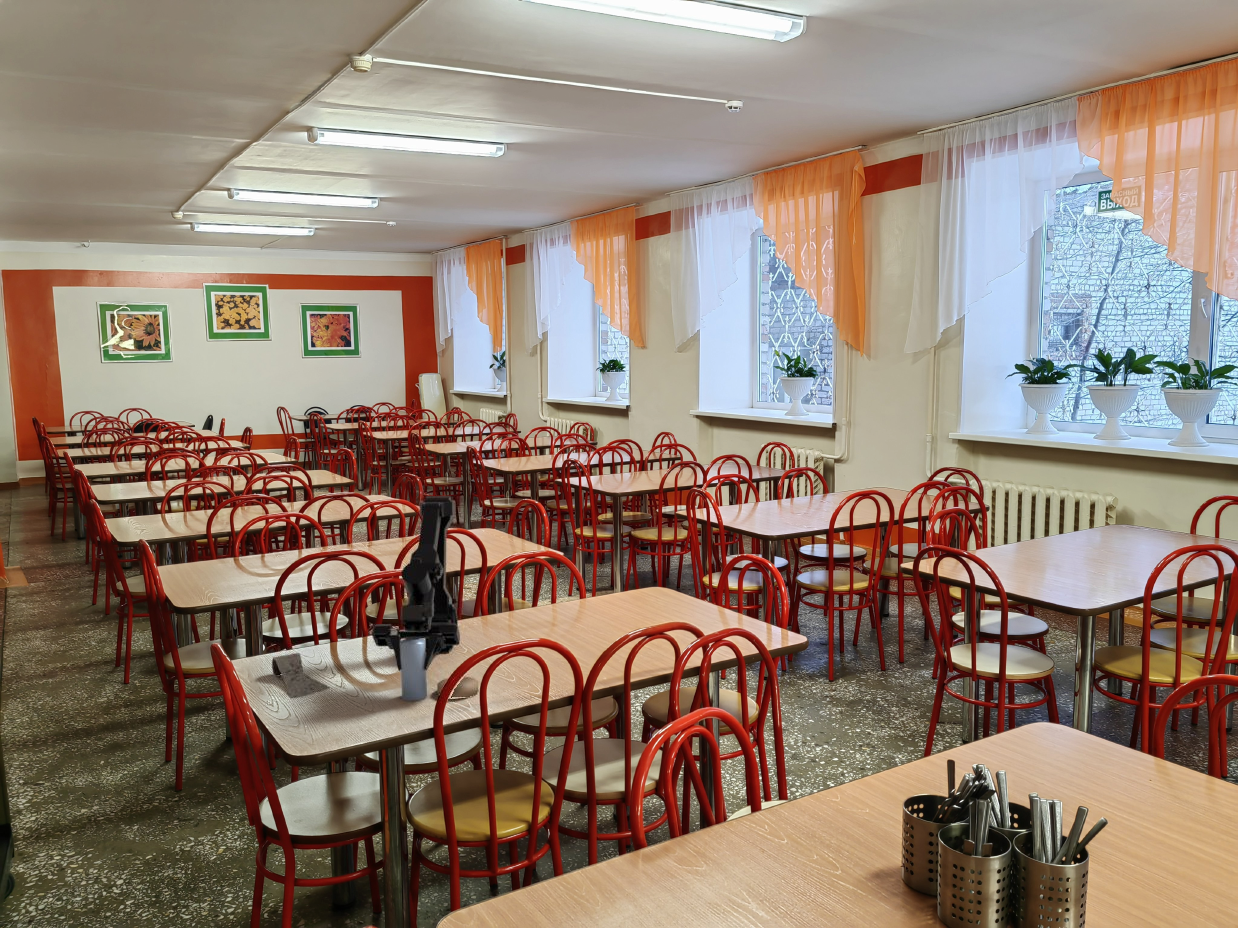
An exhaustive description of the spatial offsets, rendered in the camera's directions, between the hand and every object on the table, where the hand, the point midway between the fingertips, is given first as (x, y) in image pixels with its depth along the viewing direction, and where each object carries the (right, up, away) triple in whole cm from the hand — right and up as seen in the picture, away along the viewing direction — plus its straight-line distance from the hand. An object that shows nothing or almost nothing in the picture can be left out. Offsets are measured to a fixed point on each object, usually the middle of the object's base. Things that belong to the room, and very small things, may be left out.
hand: (412, 669), depth 204 cm
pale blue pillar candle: (0, -6, +2) cm, 7 cm away
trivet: (+9, -6, +5) cm, 12 cm away
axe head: (-28, -6, +12) cm, 31 cm away
